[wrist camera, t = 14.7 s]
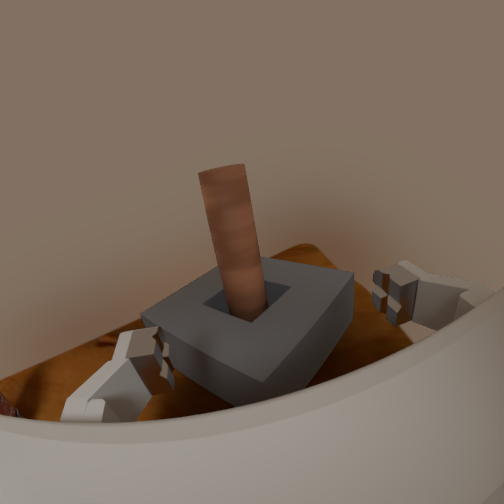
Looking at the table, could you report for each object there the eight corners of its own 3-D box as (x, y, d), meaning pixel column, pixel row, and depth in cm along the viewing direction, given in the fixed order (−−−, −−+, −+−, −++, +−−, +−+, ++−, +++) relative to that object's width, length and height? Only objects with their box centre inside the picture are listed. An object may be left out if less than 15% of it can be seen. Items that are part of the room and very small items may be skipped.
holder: (159, 356, 23) (139, 313, 22) (247, 292, 32) (239, 252, 30) (273, 427, 15) (262, 382, 13) (352, 319, 24) (354, 272, 22)
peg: (228, 338, 23) (188, 175, 18) (251, 319, 25) (221, 166, 20) (257, 351, 21) (221, 171, 16) (279, 328, 23) (254, 162, 18)
